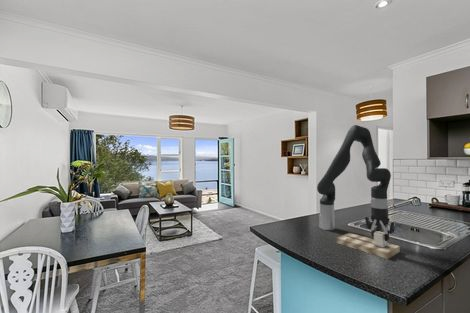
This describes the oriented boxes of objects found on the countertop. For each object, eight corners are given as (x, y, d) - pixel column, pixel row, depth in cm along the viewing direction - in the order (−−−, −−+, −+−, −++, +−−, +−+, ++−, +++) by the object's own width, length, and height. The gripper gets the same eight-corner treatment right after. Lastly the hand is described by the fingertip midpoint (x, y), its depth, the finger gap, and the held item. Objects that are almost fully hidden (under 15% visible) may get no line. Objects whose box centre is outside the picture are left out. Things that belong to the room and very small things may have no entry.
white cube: (372, 244, 116) (372, 233, 116) (377, 241, 119) (377, 230, 119) (383, 247, 111) (382, 235, 111) (388, 244, 115) (388, 233, 115)
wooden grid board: (336, 242, 128) (336, 237, 128) (349, 237, 136) (349, 232, 136) (387, 259, 106) (387, 252, 106) (399, 251, 114) (399, 245, 114)
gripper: (361, 205, 119) (362, 236, 119) (392, 210, 107) (393, 245, 107) (368, 203, 123) (369, 234, 123) (398, 207, 112) (399, 241, 111)
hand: (380, 239), depth 115 cm, fingers open, 5 cm apart
